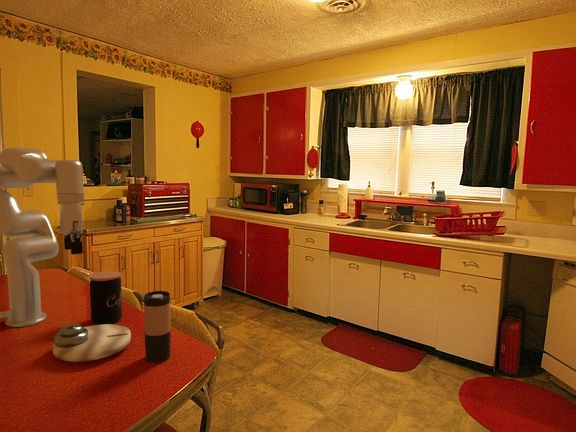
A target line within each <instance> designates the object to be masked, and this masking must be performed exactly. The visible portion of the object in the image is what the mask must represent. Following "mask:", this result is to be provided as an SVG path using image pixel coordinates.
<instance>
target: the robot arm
mask: <svg viewBox="0 0 576 432" xmlns="http://www.w3.org/2000/svg"><path fill="white" fill-rule="evenodd" d="M53 183H54V184H55V185H56V187H55V188H56V189H55V190H56V201H57V205H59V232H60V233H61V234H63V244H64V246H63V247H64V250H66V251H67V250H70V254H71V255H81V254H83V252H84V251H83V247H84V246H83V237H82V234H83V231H84V230H83V228H84V226H83V225H84V224H83V213H82V209H83V208H82V204H83V205H84V204H85V192H84V172H83V164H82V162H81V161H79V160H75V159H73V160H72V159H48V157H47V155H46V153H45V152H44V151H42V149H39V148H28V147H27V148H26V147H8V148H5V149H3V150H2V151H1V152H0V234H1V235H2V236H4V237H6V238H11V239H10V240H8V241H5V243H4V244H3V246H2V256H3V259H4V263H5V265H6V266H5V267H6V274H7V275H6V276H7V286H8V301H9V303H8V304H9V310H6V311H0V320H1V319H6V320H5V325H6V326H7V327H11V328H20V327H28V326H32V325H35V324H36V325H37V324H39V323H41V322H43V321H45V320H46V319H47V313H45V312H43V311H42V301H41V285H40V284H41V283H40V273H39V271H38V269H37V268H36V267H35V266H34V265H32V263H34V262H38V261H43V260H45V261H46V260H49V259H52V258H55V257H57V255H58V254H59V249H60V247H59V242H58V239H57V237H56V234H55V232H54V230H53V227H52V225H51V222H50V219H49V217H48V215H46V213H45V212H43V211H41V210H36V209H35V210H34V209H32V210H23V209H22V208H21V206H20V203H19V201H18V200H17V198H16V197H15V196H14V195H13V194H11V193H10V192H9V191H6V190H5V189H14V188H15V189H16V188H17V189H19V188H20V189H22V188H23V189H24V188H30V187H33V186H34V185H35V184H53Z"/></svg>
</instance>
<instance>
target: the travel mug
mask: <svg viewBox="0 0 576 432" xmlns="http://www.w3.org/2000/svg"><path fill="white" fill-rule="evenodd" d="M171 317H172V316H171V293H170V292H169V291H165V290H155V291H150V292H146V293H145V294H144V295H143V321H144V322H143V325H144V326H143V329H144V330H143V331H144V333H143V334H144V350H145V361H146V362H147V363H151V364H159V363H163V362H166V361H167V360H169V359H170V357H171V346H172V345H171V339H172V338H171V337H172V336H171V335H172V330H171V327H172V325H171V324H172V322H171V321H172V320H171Z"/></svg>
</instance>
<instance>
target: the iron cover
mask: <svg viewBox="0 0 576 432" xmlns="http://www.w3.org/2000/svg"><path fill="white" fill-rule="evenodd" d="M87 340H88V330H87V329H86V328H83V324H81V323H79V322H78V323H75V322H73V323H69V324H64V325H62V326H61V327H60V328H59V331H58V332H57V333H55V334H54V342H55V346H57V347H61V348H68V347H74V346H78V345H81V344H83V343H85V342H86V341H87Z"/></svg>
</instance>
